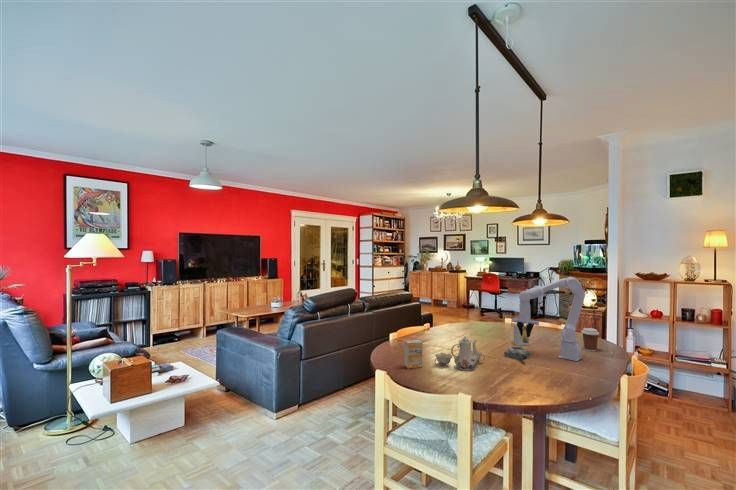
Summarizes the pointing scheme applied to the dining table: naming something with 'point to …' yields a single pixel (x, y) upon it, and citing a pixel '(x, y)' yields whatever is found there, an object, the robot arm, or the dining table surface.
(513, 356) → the block
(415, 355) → the supplement box
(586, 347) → the coffee cup
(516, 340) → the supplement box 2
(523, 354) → the collar
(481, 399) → the dining table surface
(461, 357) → the chinaware
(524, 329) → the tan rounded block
